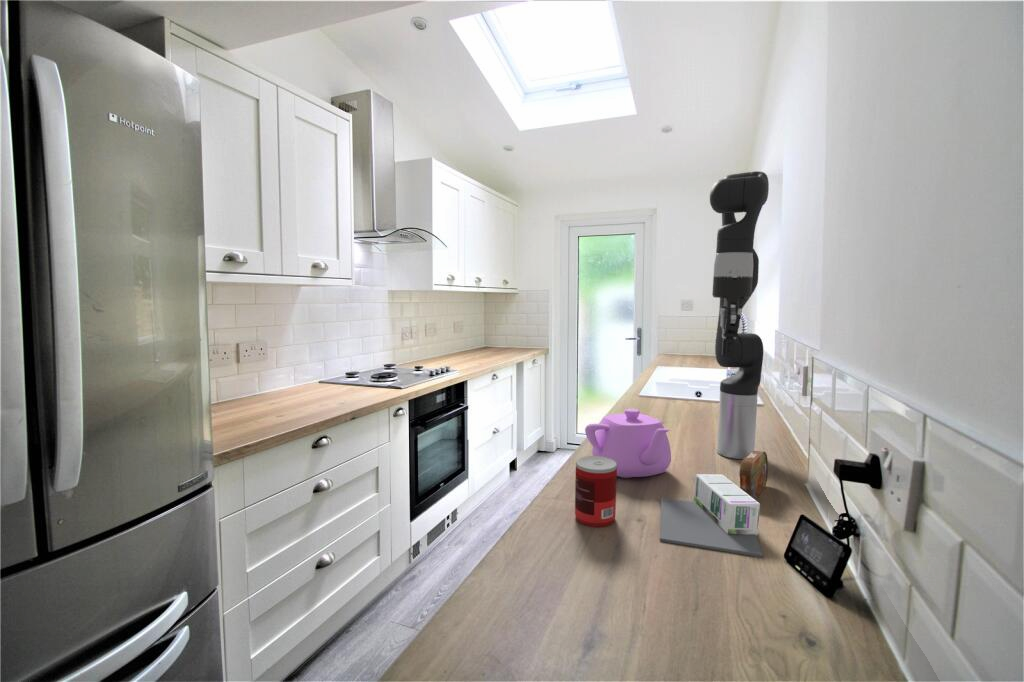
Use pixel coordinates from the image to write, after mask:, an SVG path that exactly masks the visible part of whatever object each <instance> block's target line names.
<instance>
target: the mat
mask: <svg viewBox="0 0 1024 682" xmlns="http://www.w3.org/2000/svg"><path fill="white" fill-rule="evenodd" d="M659 523H660V525H659V526H660V527H659V530H660V531H659V532H660V533H659V541H660V542H664V543H670V544H677V545H682V546H683V545H684V546H689V547H696V548H702V549H706V550H707V549H708V550H714V551H715V550H716V551H721V552H728V553H733V554H739V555H740V554H741V555H745V556H752V557H757V558H758V557H759V558H763V552H762V550H761V546H760V544H759V542H758V539H757V536H756V534H749V535H748V534H747V535H746V534H745V535H741V534H727V533H726V532H725V531H724V530H723V529H722V528H721V527H720V526H719V525H718V524H717V523H716V522H715V521H714V520H713V519H712V518H711V517H710V516H709V515H708V514H707V513H706V511H705V510H704V509H703V508H702V507H701V506H700V505H699V504H698V503H697V502H696V501H690V500H685V499H684V500H682V499H675V498H668V497H661V499H660V522H659Z"/></svg>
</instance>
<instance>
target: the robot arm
mask: <svg viewBox="0 0 1024 682" xmlns="http://www.w3.org/2000/svg"><path fill="white" fill-rule="evenodd" d="M769 182H770V181H769V178H768V175H767V174H766V172H763V171H755V170H754V171H748V172H740V173H733V174H728V175H726V176H725V177H724V178H721V179H718V180H717V181H715V182H714V184H713V185H712V187H711V190H710V193H709V204H710V206H711V208H712V210H713V211H714V212H715V213H717V214H721V226H720V227H719V228H718V230H717V234H716V251H715V253H716V254H715V258H714V264H713V277H712V278H713V279H712V297H713V298H718V299H719V306H718V308H719V309H718V318H717V319H718V321H717V328H716V335H715V336H716V337H715V343H714V344H715V346H714V347H715V349H714V350H715V352H714V353H715V354H714V355H715V359H716V363H717V364H718V365H719V366H720V367H723V368H738V370H737V372H735V374H733V375H731V376H730V377H727V378H724V379H722V380H721V381H720V383H719V384H720V385H719V405H718V406H719V407H718V423H717V424H718V429H717V445H716V450H717V451H716V452H717V453H718V454H719V455H720V456H723V457H726V458H729V459H737V460H743V459H744V458H745V457H746V456H747V455H748V454H749V453H750V452H752V451H756V450H755V449H756V448H755V447H756V445H755V444H756V433H757V432H756V430H757V429H756V428H757V413H758V412H757V411H758V394H759V393H758V392H759V387H760V385H761V381H762V370H763V363H764V362H763V360H764V344H763V343H764V342H763V340H762V338H761V337H760V336H759V334H757V333H749V332H745V333H744V332H742V333H741V332H739V329H740V322H741V319H742V314H743V308H744V307H745V305H746V303H747V302H748V301H749V299H750V298H751V297H752V296H753V294H754V292H755V290H756V289H757V287H758V283H759V271H760V270H759V265H760V262H759V261H760V260H759V255H758V254H757V252H756V250H755V248H754V244H755V243H754V241H755V240H754V239H755V233H756V232H755V231H756V227H757V223H758V220H759V217H760V213H761V210H762V208H763V206H764V205H765V204H766V202H767V201H768V196H769V185H770V184H769ZM735 213H736V214H738V213H739V214H740V213H745V215H744V216H743V217H742V219H740V220H739V221H737V219H736V216H735Z"/></svg>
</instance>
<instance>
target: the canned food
mask: <svg viewBox="0 0 1024 682" xmlns="http://www.w3.org/2000/svg"><path fill="white" fill-rule="evenodd" d="M617 477H618V476H617V464H616V462H615V461H614V460H612V459H609V458H606V457H600V456H593V455H588V456H583V457H580V458H578V459H576V462H575V485H574V487H575V488H574V489H575V491H574V492H575V493H574V494H575V495H574V516H575V519H576V520H577V521H578V522H579V523H581V524H582V525H585V526H587V527H591V528H592V527H593V528H602V527H604V528H605V527H608V526H610V525H611V524H613V522H614V521H615V518H616V507H617V505H616V504H617V503H616V502H617V481H618V479H617Z"/></svg>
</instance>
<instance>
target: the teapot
mask: <svg viewBox="0 0 1024 682" xmlns="http://www.w3.org/2000/svg"><path fill="white" fill-rule="evenodd" d="M623 411H624V413H614V414H608V415H607V414H606V415H604V416H603V417H602V418H601V420H600V423H590V424H587V425H586V426H585V429H584V432H585V436H586V438H587V440H588V442H589V443H590V444H591V446H592V451H591V452H592V456H600V457H606V458H609V459H612V460H614V461H615V462H616V464H617V477H621V478H622V479H623V478H624V479H631V478H640V477H651V476H656V475H660V474H662V473H665V472H666V471H667V470H668V468H669V467H670V465H671V462H672V451H671V446H670V441H669V438H668V434H667V433H668V432H670V431H671V429H669V428H665V426H664V425H663V423H662V421H661V420H660V419H658V418H656V417H653V416H650V415H647V414H643V413H641V411H640V410H639V409H636V408H627V409H624V410H623Z"/></svg>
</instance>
